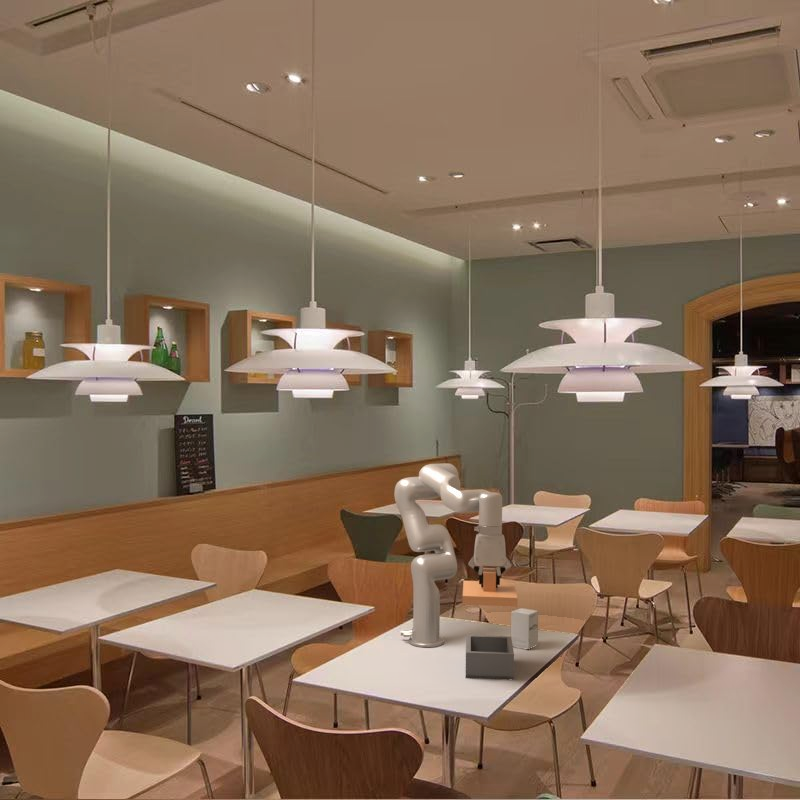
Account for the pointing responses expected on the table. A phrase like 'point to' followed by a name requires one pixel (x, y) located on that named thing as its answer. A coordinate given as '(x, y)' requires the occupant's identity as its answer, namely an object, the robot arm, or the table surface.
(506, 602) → the lid
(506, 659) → the tub
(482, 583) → the robot arm
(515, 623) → the supplement box
